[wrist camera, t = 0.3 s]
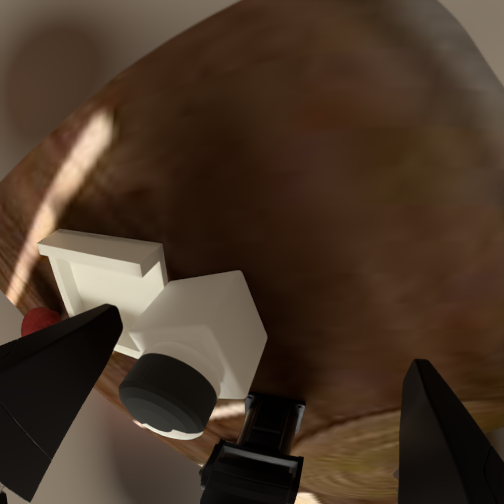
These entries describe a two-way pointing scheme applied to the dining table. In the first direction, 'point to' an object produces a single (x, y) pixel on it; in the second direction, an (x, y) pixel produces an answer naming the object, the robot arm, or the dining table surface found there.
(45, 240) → the cradle
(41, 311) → the red rounded lump
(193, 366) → the medicine bottle
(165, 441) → the dining table surface
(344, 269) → the dining table surface
